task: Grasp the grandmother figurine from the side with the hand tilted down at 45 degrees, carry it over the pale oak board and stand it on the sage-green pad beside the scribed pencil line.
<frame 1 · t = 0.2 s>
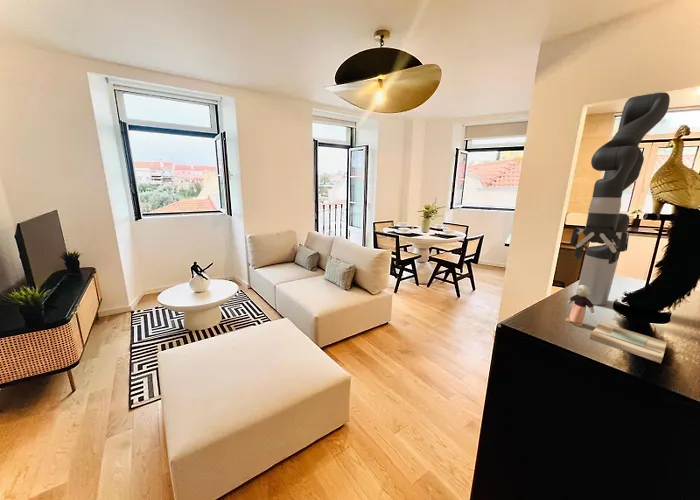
hand: (594, 261, 95), 18 cm above the table, tool pointing down, fingers open, 8 cm apart
oak board: (626, 342, 79), on the table
grandmother figurine: (575, 324, 89), on the table
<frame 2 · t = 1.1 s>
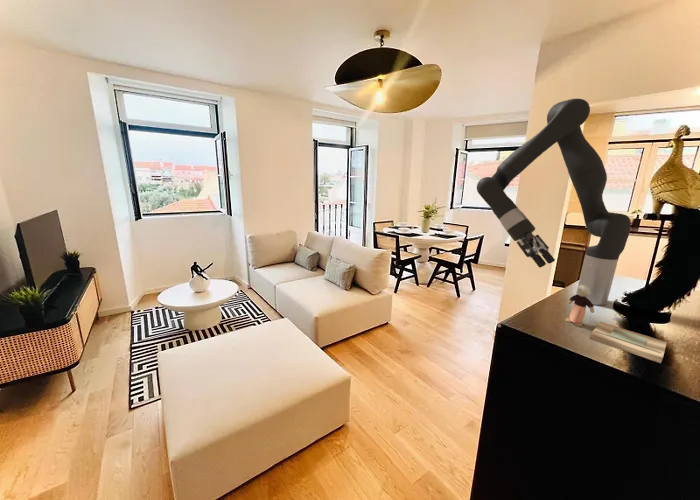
hand: (547, 264, 93), 17 cm above the table, tool tilted 45°, fingers open, 8 cm apart
nothing on the table moved.
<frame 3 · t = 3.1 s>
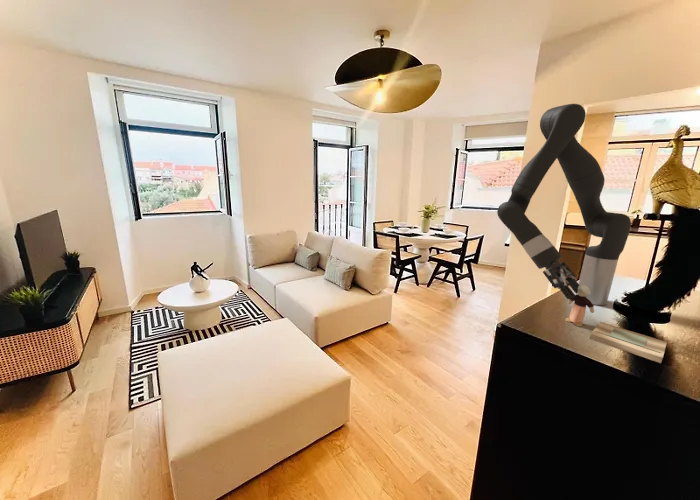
hand: (576, 294, 88), 9 cm above the table, tool tilted 45°, fingers open, 8 cm apart
nothing on the table moved.
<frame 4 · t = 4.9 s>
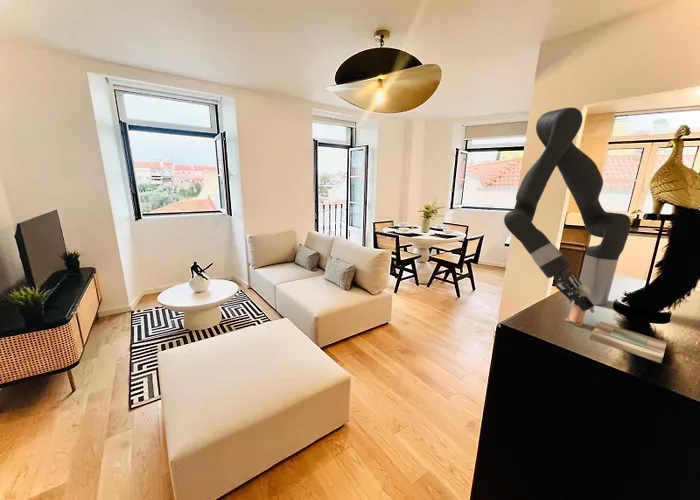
hand: (588, 308, 86), 6 cm above the table, tool tilted 45°, fingers closed on grandmother figurine, 2 cm apart
grandmother figurine: (575, 324, 89), on the table, touching gripper
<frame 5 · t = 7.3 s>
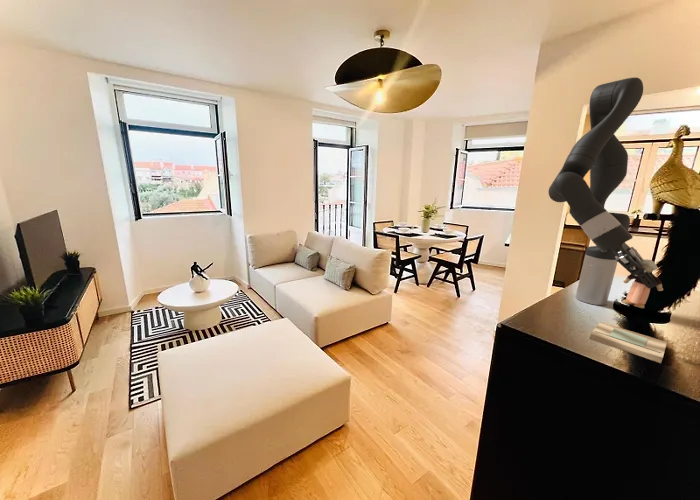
hand: (654, 285, 74), 17 cm above the table, tool tilted 45°, fingers closed on grandmother figurine, 2 cm apart
grandmother figurine: (635, 306, 77), point 11 cm above the table, touching gripper
when the fingers open (9 cm above the table, at t = 9.1 s): grandmother figurine moves 3 cm, resting on oak board.
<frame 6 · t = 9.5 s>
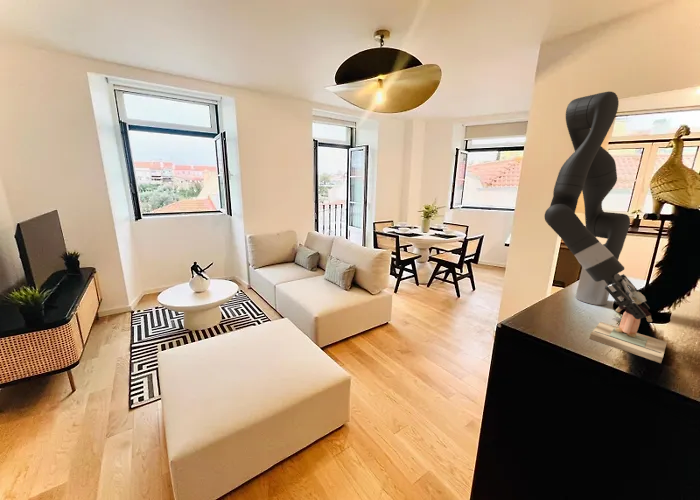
hand: (643, 313, 76), 9 cm above the table, tool tilted 45°, fingers open, 7 cm apart
grandmother figurine: (628, 334, 81), point 2 cm above the table, touching gripper, oak board
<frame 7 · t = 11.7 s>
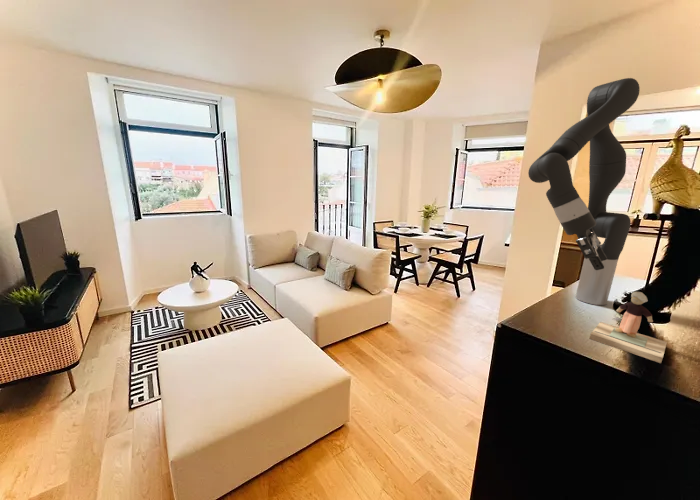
hand: (601, 264, 84), 20 cm above the table, tool tilted 35°, fingers open, 8 cm apart
grandmother figurine: (628, 334, 81), point 1 cm above the table, touching oak board
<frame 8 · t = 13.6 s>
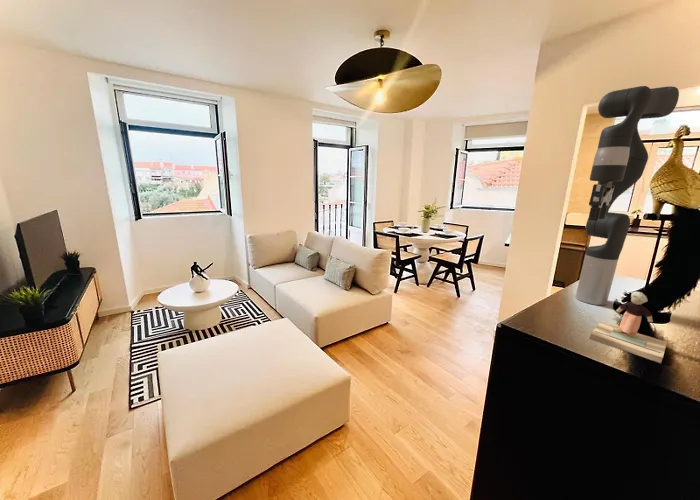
hand: (596, 219, 87), 32 cm above the table, tool pointing down, fingers open, 8 cm apart
nothing on the table moved.
at the end: grandmother figurine inside the target area on the oak board (2.0 cm from its centre), point 1.4 cm above the oak board's base; grandmother figurine tilted 0°; the gripper is holding nothing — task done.
